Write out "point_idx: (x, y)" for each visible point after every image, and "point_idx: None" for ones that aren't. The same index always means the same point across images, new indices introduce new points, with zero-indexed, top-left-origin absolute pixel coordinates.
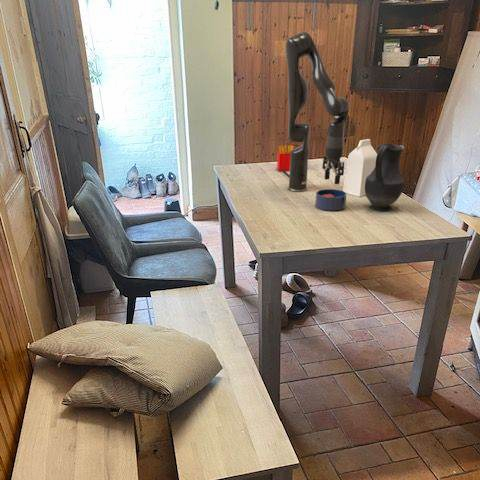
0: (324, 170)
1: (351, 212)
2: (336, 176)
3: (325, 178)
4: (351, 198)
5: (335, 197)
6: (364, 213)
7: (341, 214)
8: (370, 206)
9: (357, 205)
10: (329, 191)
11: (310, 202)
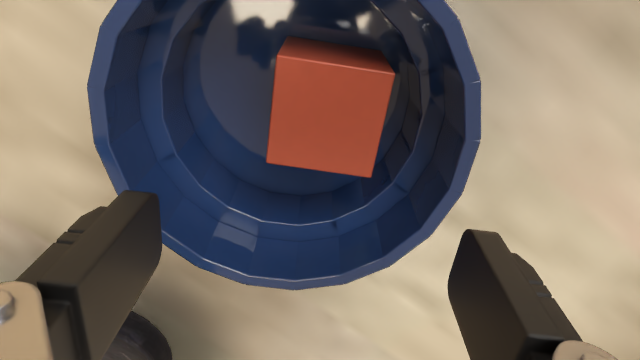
0: (609, 357)
1: (83, 147)
2: (42, 293)
3: (472, 234)
4: (373, 340)
5: (101, 70)
6: (32, 211)
7: (56, 36)
8: (129, 318)
9: (221, 282)
10: (419, 210)
11: (519, 11)
